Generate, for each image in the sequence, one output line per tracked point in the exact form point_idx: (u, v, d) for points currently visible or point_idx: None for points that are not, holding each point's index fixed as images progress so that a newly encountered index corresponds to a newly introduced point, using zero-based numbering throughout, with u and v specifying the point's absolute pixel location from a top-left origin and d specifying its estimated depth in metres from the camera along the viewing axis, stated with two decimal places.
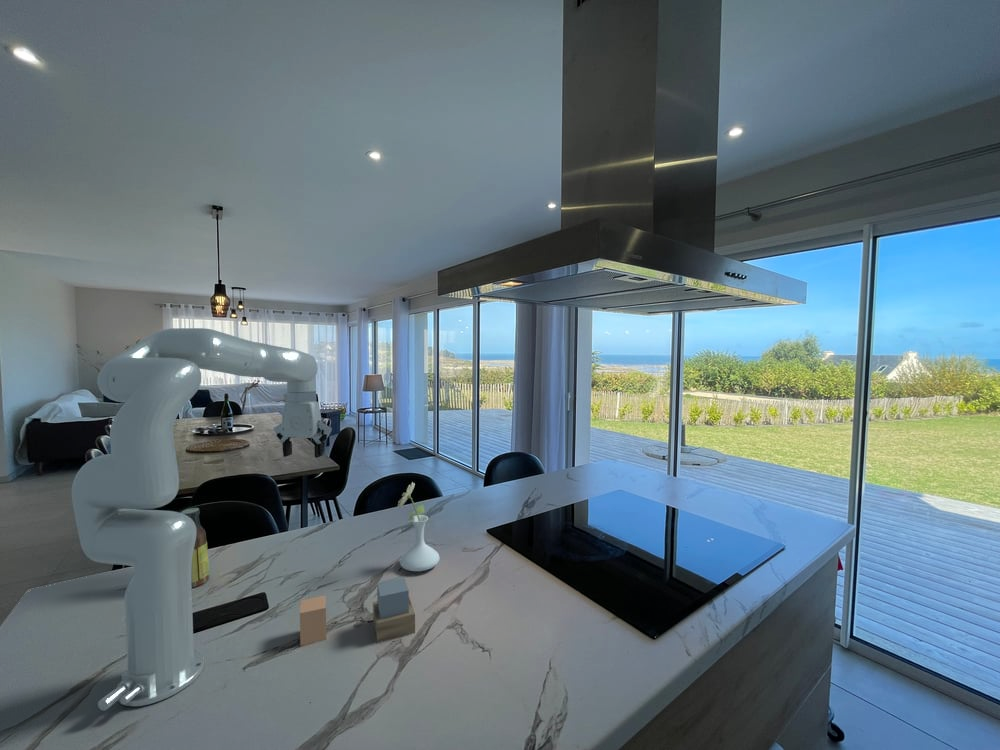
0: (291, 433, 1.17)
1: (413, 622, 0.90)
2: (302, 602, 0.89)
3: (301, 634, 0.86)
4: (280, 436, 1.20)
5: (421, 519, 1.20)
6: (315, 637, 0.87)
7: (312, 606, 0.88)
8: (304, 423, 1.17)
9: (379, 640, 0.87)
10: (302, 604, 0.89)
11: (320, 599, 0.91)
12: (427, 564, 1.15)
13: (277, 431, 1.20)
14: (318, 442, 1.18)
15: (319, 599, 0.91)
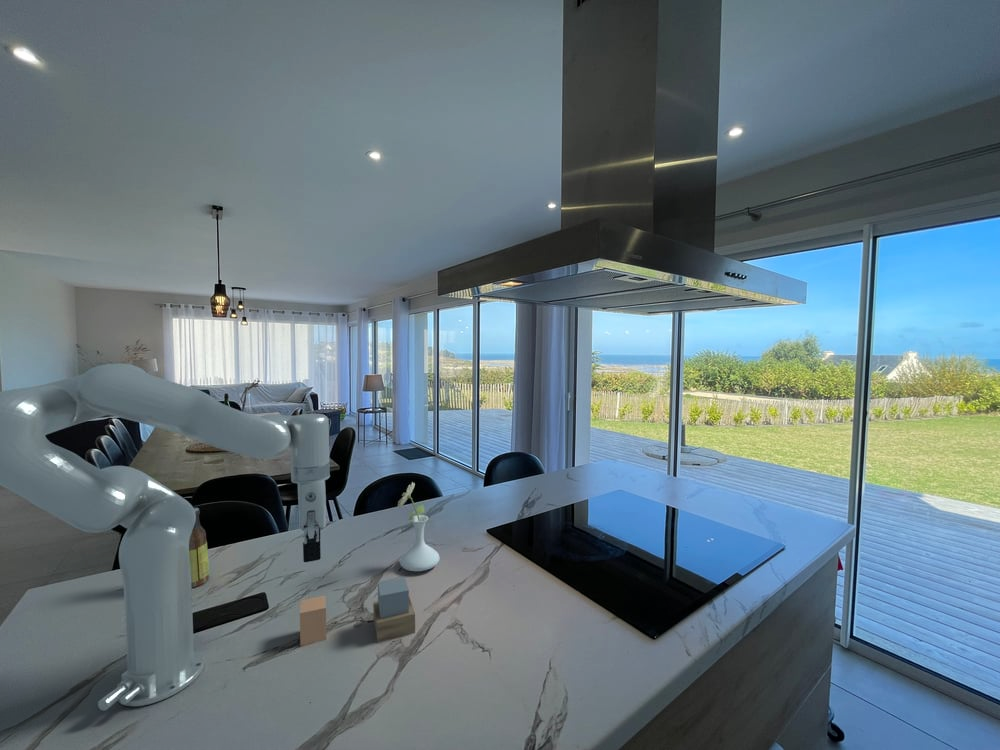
0: None
1: (413, 622, 0.90)
2: (302, 602, 0.89)
3: (301, 634, 0.86)
4: None
5: (421, 519, 1.20)
6: (315, 637, 0.87)
7: (312, 606, 0.88)
8: None
9: (379, 639, 0.87)
10: (302, 604, 0.89)
11: (320, 599, 0.91)
12: (427, 564, 1.15)
13: (314, 530, 0.82)
14: None
15: (319, 599, 0.91)
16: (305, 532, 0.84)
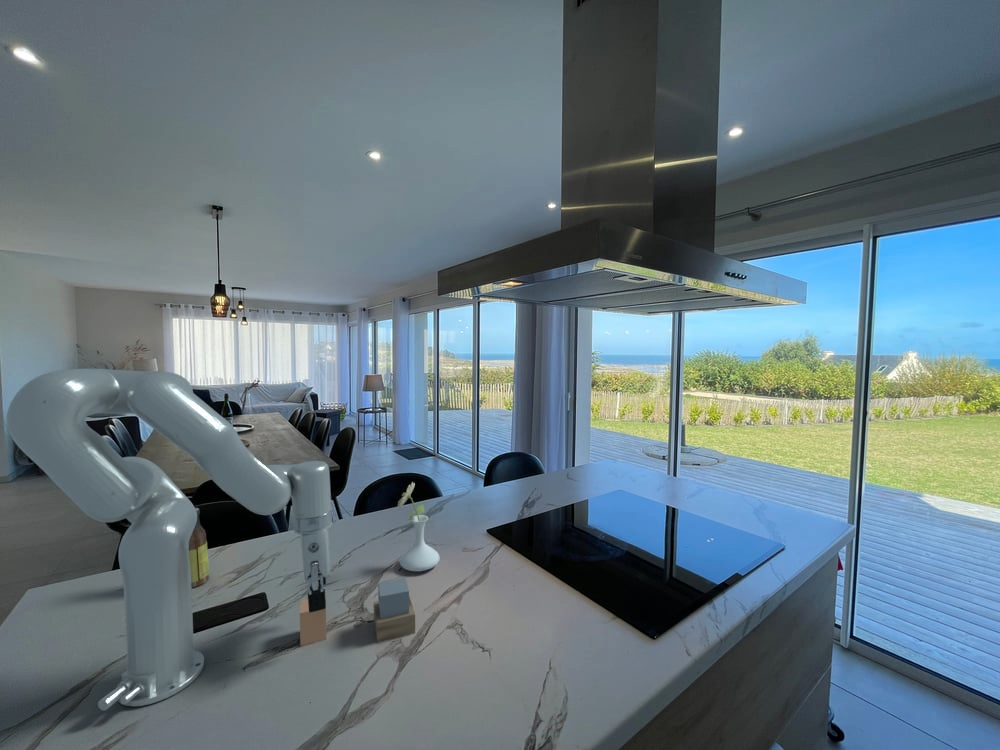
0: None
1: (413, 622, 0.90)
2: (302, 602, 0.89)
3: (301, 634, 0.86)
4: None
5: (421, 519, 1.20)
6: (315, 637, 0.87)
7: None
8: None
9: (379, 640, 0.87)
10: (302, 604, 0.89)
11: None
12: (427, 564, 1.15)
13: (318, 582, 0.82)
14: None
15: None
16: (309, 583, 0.84)
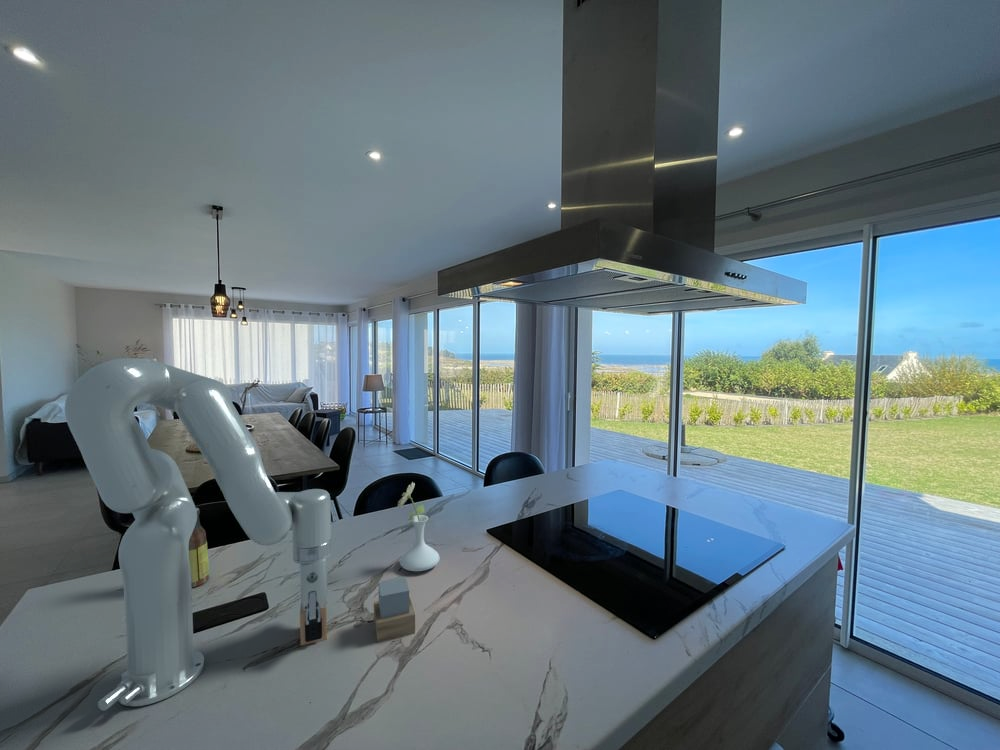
0: (327, 595, 0.88)
1: (413, 622, 0.90)
2: None
3: (301, 634, 0.86)
4: None
5: (421, 519, 1.20)
6: None
7: None
8: None
9: (379, 640, 0.87)
10: None
11: None
12: (427, 564, 1.15)
13: (315, 615, 0.84)
14: None
15: None
16: (307, 614, 0.85)
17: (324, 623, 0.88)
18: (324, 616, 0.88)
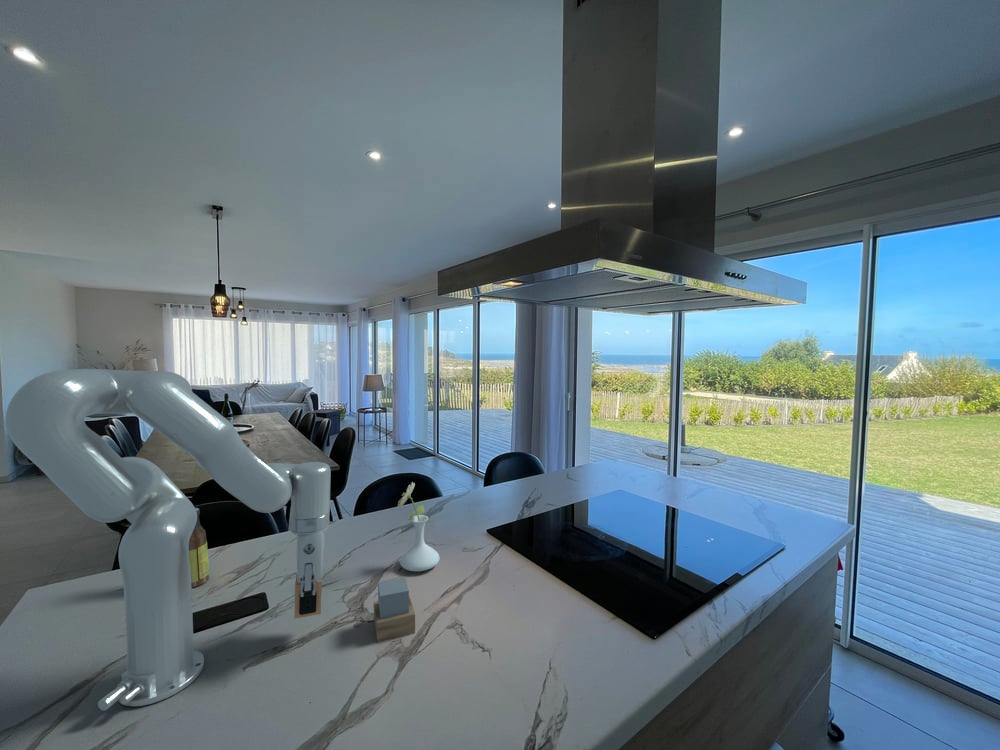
0: None
1: (413, 622, 0.90)
2: None
3: (295, 607, 0.85)
4: None
5: (421, 519, 1.20)
6: None
7: None
8: None
9: (379, 640, 0.87)
10: None
11: None
12: (427, 564, 1.15)
13: (311, 587, 0.83)
14: None
15: None
16: (302, 586, 0.84)
17: (319, 597, 0.87)
18: (319, 590, 0.87)
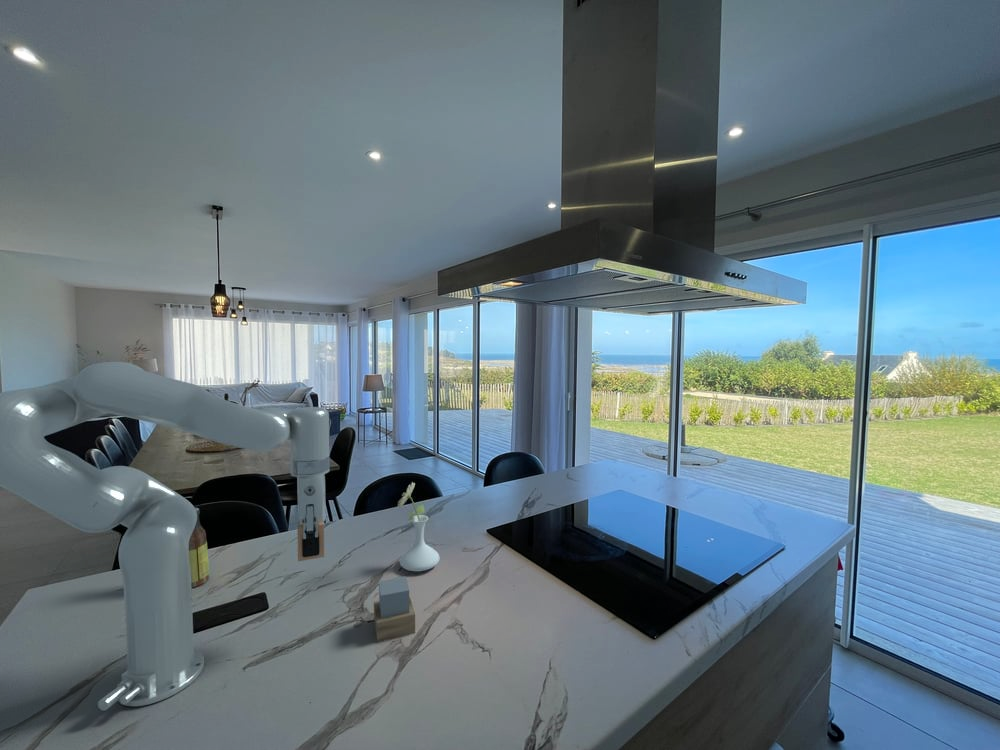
0: None
1: (413, 622, 0.90)
2: None
3: (299, 549, 0.85)
4: None
5: (421, 519, 1.20)
6: None
7: None
8: None
9: (379, 639, 0.87)
10: None
11: None
12: (427, 564, 1.15)
13: (313, 528, 0.83)
14: None
15: None
16: (304, 528, 0.84)
17: (322, 540, 0.87)
18: (322, 533, 0.87)
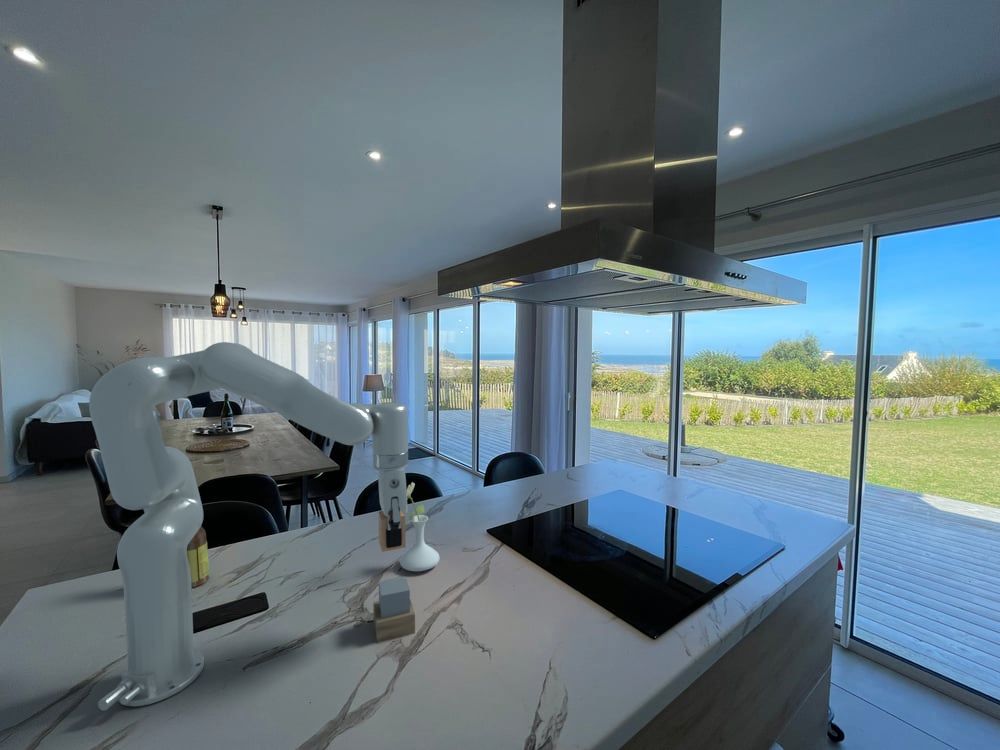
0: None
1: (413, 622, 0.90)
2: (380, 512, 0.92)
3: (382, 540, 0.88)
4: None
5: (421, 519, 1.20)
6: None
7: None
8: None
9: (379, 639, 0.87)
10: (381, 514, 0.91)
11: None
12: (427, 564, 1.15)
13: None
14: None
15: None
16: (388, 520, 0.87)
17: (403, 531, 0.90)
18: (403, 524, 0.90)
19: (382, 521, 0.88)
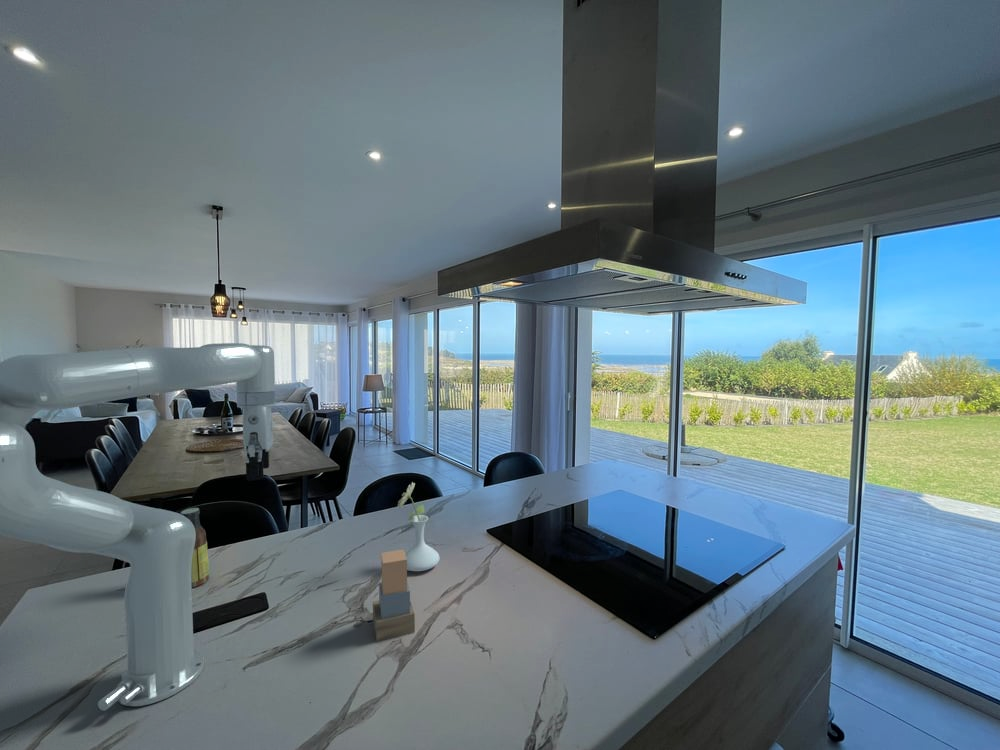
0: (270, 443, 0.94)
1: (413, 622, 0.90)
2: (383, 554, 0.92)
3: (384, 584, 0.88)
4: None
5: (421, 519, 1.20)
6: (397, 587, 0.89)
7: (393, 558, 0.90)
8: None
9: (378, 639, 0.87)
10: (383, 556, 0.91)
11: (399, 552, 0.93)
12: (427, 564, 1.15)
13: (255, 449, 0.88)
14: None
15: (398, 552, 0.93)
16: (248, 452, 0.89)
17: (405, 575, 0.90)
18: (405, 568, 0.90)
19: (384, 565, 0.88)
